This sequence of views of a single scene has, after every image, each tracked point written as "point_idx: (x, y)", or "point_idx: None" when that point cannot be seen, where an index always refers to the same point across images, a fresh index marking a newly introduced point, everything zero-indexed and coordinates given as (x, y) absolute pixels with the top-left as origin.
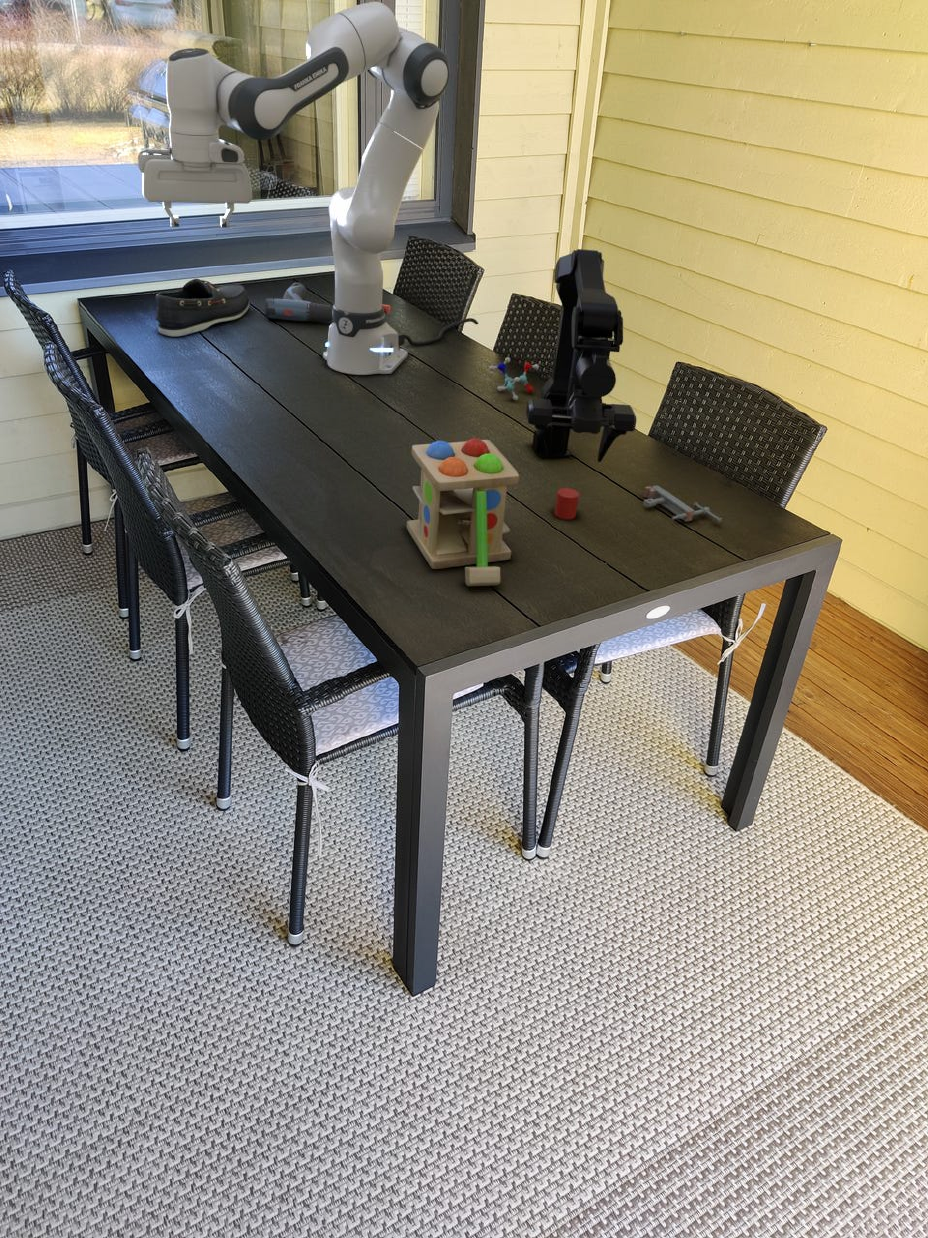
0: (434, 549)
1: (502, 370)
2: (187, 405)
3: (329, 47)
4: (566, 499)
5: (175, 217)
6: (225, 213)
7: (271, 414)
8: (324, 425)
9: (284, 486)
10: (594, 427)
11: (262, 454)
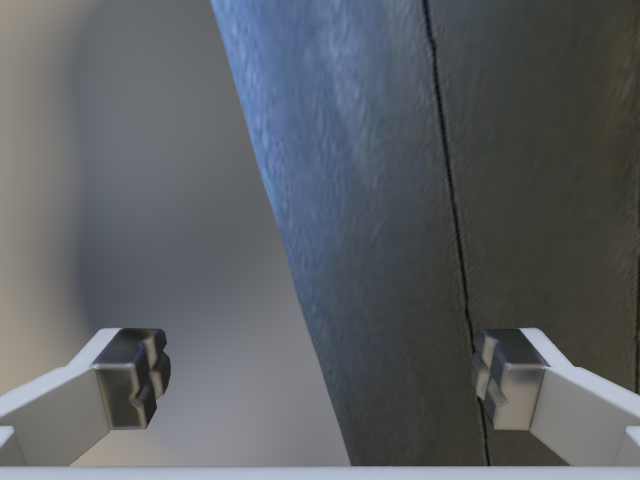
0: None
1: None
2: (275, 147)
3: None
4: None
5: (120, 421)
6: (569, 381)
7: (418, 207)
8: (492, 262)
9: (376, 423)
10: None
11: (369, 343)
